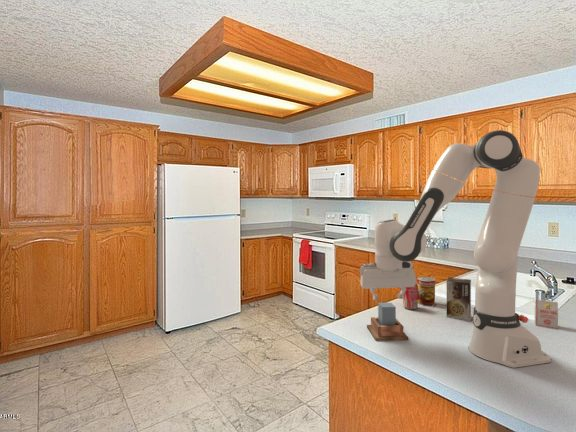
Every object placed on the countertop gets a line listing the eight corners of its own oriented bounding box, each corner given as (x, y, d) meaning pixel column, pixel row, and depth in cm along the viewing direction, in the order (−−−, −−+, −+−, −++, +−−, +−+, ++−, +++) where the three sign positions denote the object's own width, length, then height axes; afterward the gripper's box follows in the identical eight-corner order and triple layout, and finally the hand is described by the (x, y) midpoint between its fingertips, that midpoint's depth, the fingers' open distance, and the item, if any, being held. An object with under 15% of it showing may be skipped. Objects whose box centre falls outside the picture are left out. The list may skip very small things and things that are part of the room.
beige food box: (534, 322, 131) (535, 298, 130) (555, 325, 128) (556, 301, 127) (535, 325, 128) (536, 300, 127) (557, 329, 124) (558, 303, 124)
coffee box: (471, 316, 138) (471, 279, 138) (470, 321, 133) (470, 282, 132) (447, 312, 143) (448, 276, 142) (445, 317, 138) (446, 280, 137)
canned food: (419, 305, 153) (419, 280, 152) (415, 300, 161) (415, 276, 160) (436, 306, 152) (437, 281, 151) (432, 301, 159) (432, 277, 159)
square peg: (391, 327, 125) (391, 302, 125) (395, 333, 120) (395, 307, 120) (378, 328, 125) (378, 302, 124) (382, 333, 120) (382, 307, 119)
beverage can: (405, 304, 154) (406, 280, 154) (419, 307, 150) (419, 282, 150) (401, 308, 150) (401, 282, 149) (415, 311, 146) (415, 285, 145)
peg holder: (396, 326, 129) (396, 315, 128) (408, 339, 117) (408, 327, 116) (366, 327, 129) (366, 316, 128) (375, 340, 117) (375, 328, 116)
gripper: (361, 265, 118) (362, 302, 118) (417, 263, 118) (418, 300, 119) (357, 262, 124) (358, 297, 125) (410, 260, 124) (411, 295, 125)
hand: (388, 299), depth 122 cm, fingers open, 8 cm apart
